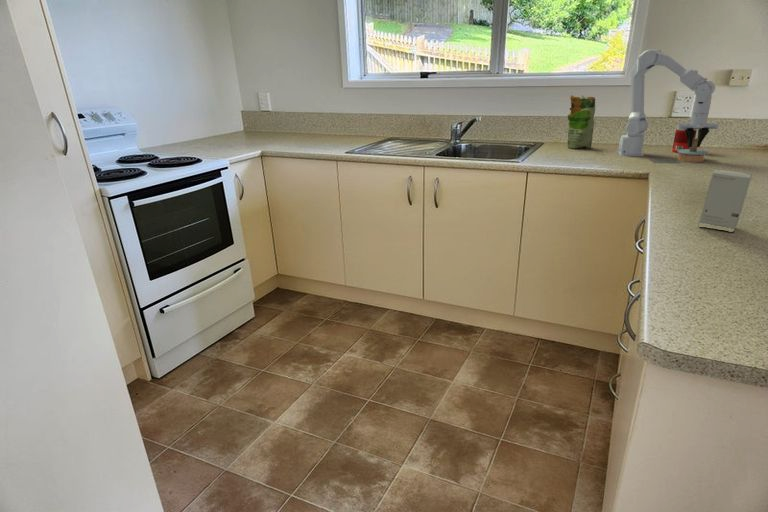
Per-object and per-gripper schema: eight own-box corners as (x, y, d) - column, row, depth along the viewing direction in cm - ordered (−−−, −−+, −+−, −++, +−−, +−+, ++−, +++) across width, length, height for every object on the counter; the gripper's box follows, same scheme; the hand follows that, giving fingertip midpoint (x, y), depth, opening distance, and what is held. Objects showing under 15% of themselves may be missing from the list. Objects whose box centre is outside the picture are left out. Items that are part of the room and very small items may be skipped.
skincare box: (697, 227, 129) (710, 172, 123) (702, 221, 133) (714, 168, 128) (735, 233, 124) (750, 176, 118) (738, 227, 128) (752, 172, 123)
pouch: (592, 149, 233) (599, 95, 224) (566, 149, 236) (571, 96, 227) (589, 145, 243) (595, 93, 234) (564, 145, 246) (569, 94, 237)
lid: (681, 154, 199) (684, 140, 197) (673, 150, 209) (676, 137, 207) (712, 155, 196) (715, 141, 194) (702, 150, 206) (705, 137, 204)
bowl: (682, 162, 201) (683, 155, 200) (675, 158, 209) (676, 151, 208) (706, 162, 199) (708, 155, 198) (698, 158, 207) (700, 151, 206)
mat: (653, 163, 201) (653, 162, 201) (647, 158, 210) (647, 158, 210) (680, 163, 199) (680, 162, 199) (672, 159, 208) (672, 158, 208)
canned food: (694, 154, 215) (699, 129, 211) (675, 154, 217) (679, 129, 213) (688, 151, 222) (693, 126, 218) (669, 151, 224) (673, 126, 220)
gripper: (683, 114, 194) (677, 148, 200) (724, 113, 191) (716, 148, 196) (678, 112, 201) (671, 145, 206) (717, 111, 198) (710, 145, 203)
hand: (693, 146), depth 202 cm, fingers closed on lid, 2 cm apart
